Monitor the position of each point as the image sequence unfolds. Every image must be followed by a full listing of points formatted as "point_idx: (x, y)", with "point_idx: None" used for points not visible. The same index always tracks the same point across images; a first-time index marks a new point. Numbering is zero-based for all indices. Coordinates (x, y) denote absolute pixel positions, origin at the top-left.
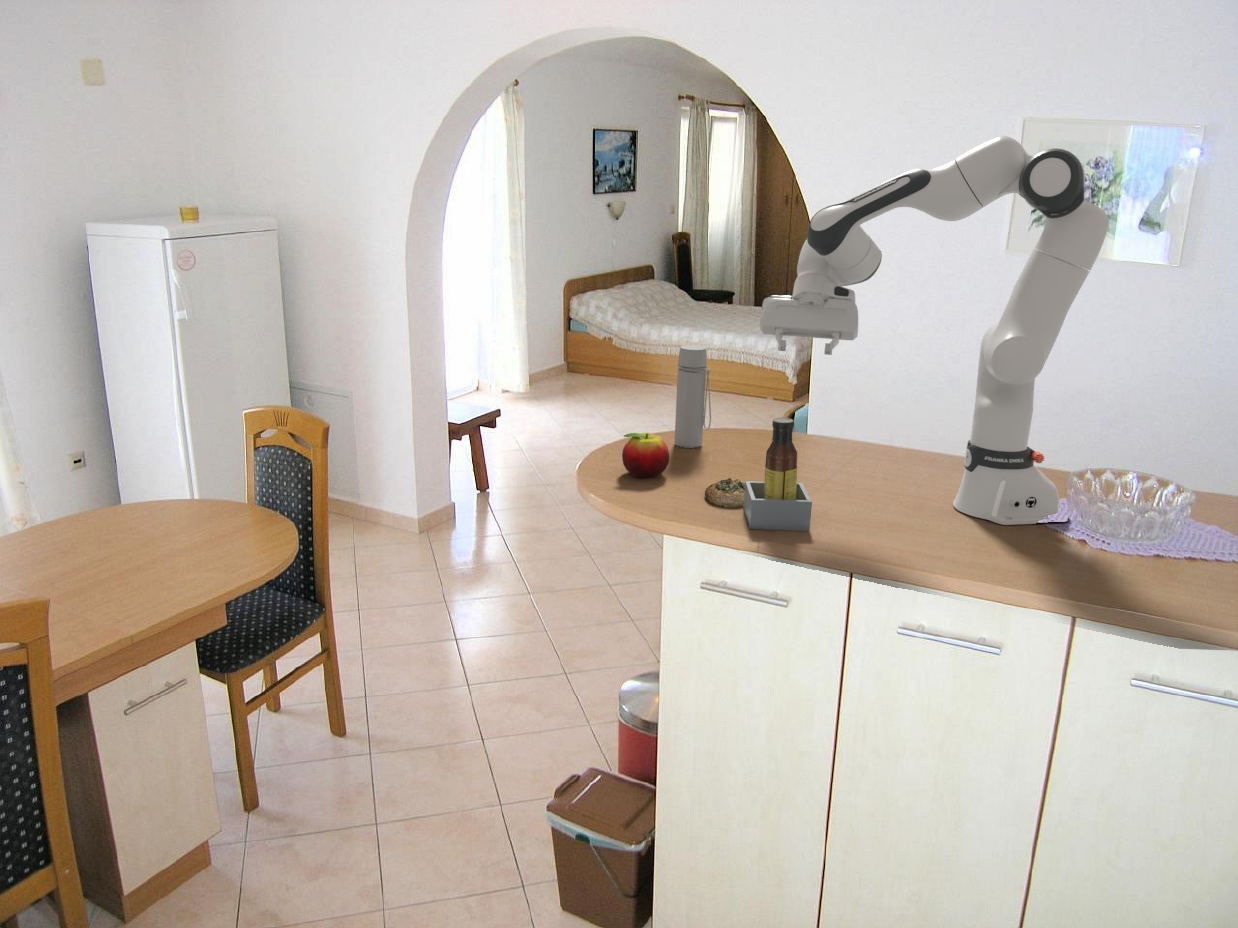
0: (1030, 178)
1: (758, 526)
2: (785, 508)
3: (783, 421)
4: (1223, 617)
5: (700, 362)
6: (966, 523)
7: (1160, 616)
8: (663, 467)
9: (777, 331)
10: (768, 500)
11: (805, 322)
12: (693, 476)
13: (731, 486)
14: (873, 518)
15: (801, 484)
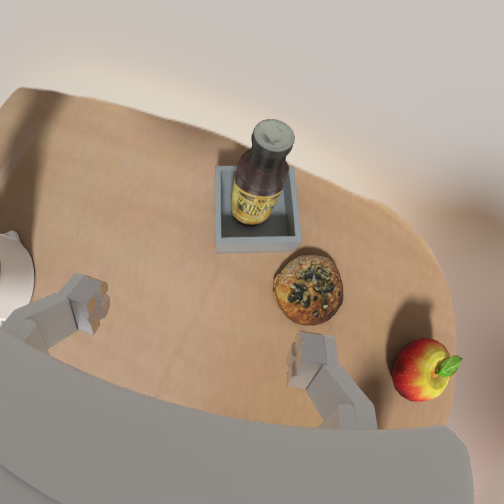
0: None
1: None
2: None
3: (274, 125)
4: (7, 100)
5: None
6: (40, 233)
7: (32, 89)
8: (398, 356)
9: (364, 410)
10: None
11: (173, 444)
12: (353, 378)
13: (314, 280)
14: (127, 235)
15: (217, 236)
